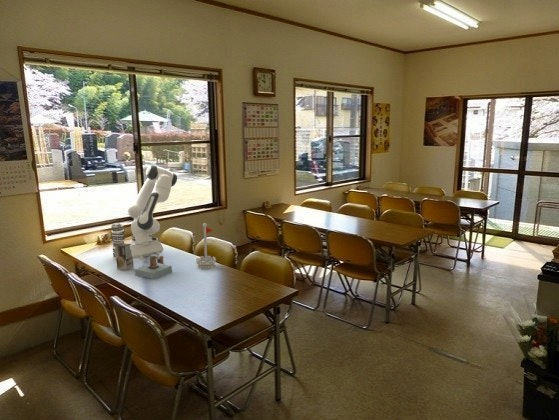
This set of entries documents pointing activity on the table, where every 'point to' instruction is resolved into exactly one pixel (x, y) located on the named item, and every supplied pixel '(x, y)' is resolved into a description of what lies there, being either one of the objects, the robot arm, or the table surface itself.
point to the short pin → (160, 260)
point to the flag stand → (207, 261)
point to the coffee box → (124, 256)
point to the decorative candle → (117, 236)
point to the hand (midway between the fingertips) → (151, 260)
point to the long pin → (153, 262)
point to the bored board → (153, 271)
